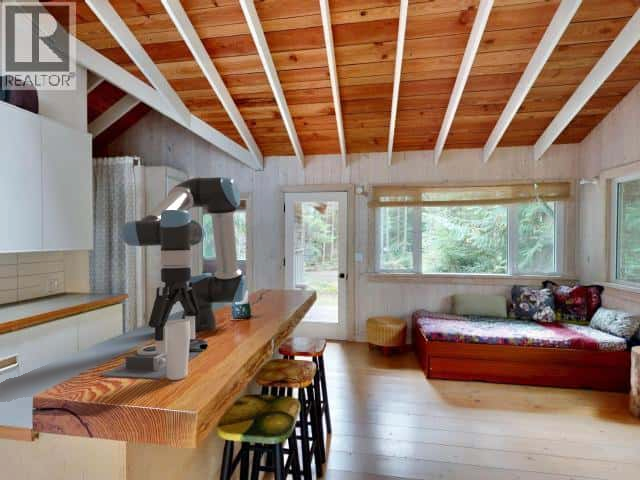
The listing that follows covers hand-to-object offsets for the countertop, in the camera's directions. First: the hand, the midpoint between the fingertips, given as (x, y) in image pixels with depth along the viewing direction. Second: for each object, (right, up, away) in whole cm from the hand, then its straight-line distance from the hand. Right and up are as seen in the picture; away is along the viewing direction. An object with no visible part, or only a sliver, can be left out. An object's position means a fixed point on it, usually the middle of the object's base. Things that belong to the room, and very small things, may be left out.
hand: (176, 345), depth 95 cm
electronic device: (-7, -10, +27) cm, 29 cm away
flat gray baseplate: (-11, -9, +11) cm, 18 cm away
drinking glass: (0, -9, 0) cm, 9 cm away
